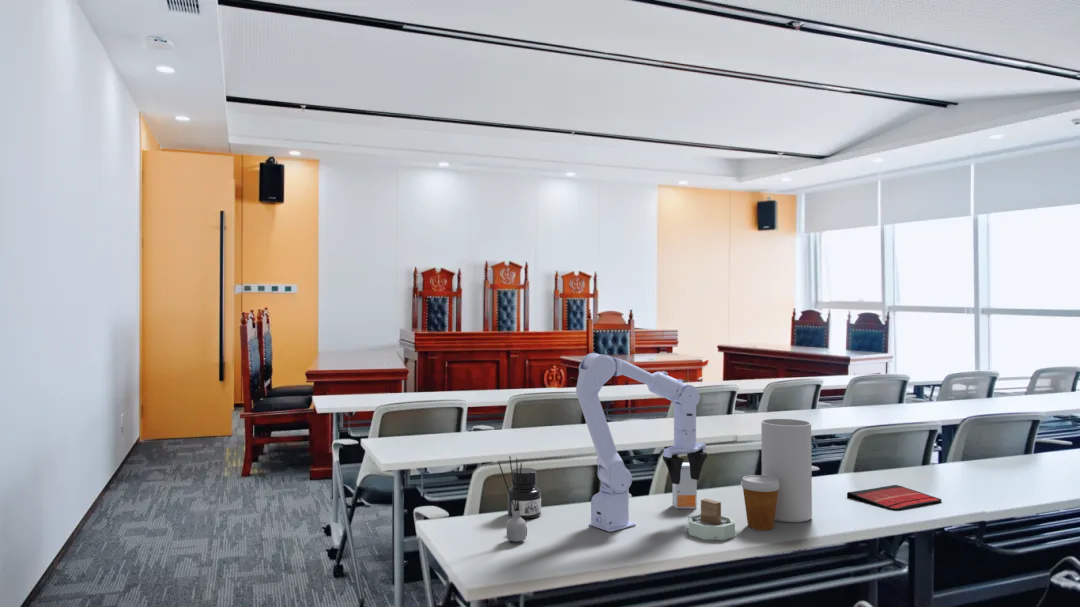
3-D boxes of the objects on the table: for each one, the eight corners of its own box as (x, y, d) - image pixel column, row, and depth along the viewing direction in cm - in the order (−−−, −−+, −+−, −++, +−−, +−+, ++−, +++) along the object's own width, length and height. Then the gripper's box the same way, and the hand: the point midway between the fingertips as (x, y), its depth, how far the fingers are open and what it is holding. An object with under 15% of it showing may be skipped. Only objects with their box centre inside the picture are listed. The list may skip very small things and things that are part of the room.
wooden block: (716, 532, 172) (715, 503, 172) (701, 528, 175) (700, 499, 175) (721, 530, 173) (720, 502, 173) (706, 526, 176) (705, 498, 176)
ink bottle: (512, 521, 184) (512, 475, 184) (501, 513, 192) (501, 468, 192) (547, 517, 188) (547, 472, 188) (535, 509, 196) (534, 465, 196)
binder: (846, 491, 206) (895, 483, 216) (846, 499, 206) (895, 491, 216) (895, 507, 192) (945, 498, 201) (895, 515, 192) (945, 506, 201)
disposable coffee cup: (744, 531, 175) (743, 482, 175) (738, 520, 184) (738, 474, 185) (784, 533, 174) (783, 484, 174) (776, 521, 183) (776, 475, 183)
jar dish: (714, 543, 166) (714, 529, 166) (678, 531, 175) (678, 518, 175) (743, 534, 173) (743, 520, 173) (707, 523, 182) (707, 511, 182)
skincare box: (675, 509, 195) (675, 465, 195) (672, 504, 199) (672, 462, 200) (697, 508, 195) (697, 465, 195) (693, 504, 200) (693, 462, 200)
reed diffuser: (532, 545, 165) (532, 460, 165) (504, 549, 162) (504, 462, 163) (518, 533, 174) (518, 452, 175) (491, 536, 172) (491, 454, 172)
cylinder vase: (822, 519, 185) (821, 423, 185) (787, 526, 179) (786, 427, 180) (786, 507, 196) (785, 417, 196) (752, 513, 190) (751, 420, 191)
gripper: (678, 434, 178) (678, 488, 178) (714, 428, 187) (715, 480, 187) (657, 430, 184) (657, 483, 184) (694, 425, 193) (694, 475, 192)
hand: (685, 481), depth 186 cm, fingers open, 7 cm apart
